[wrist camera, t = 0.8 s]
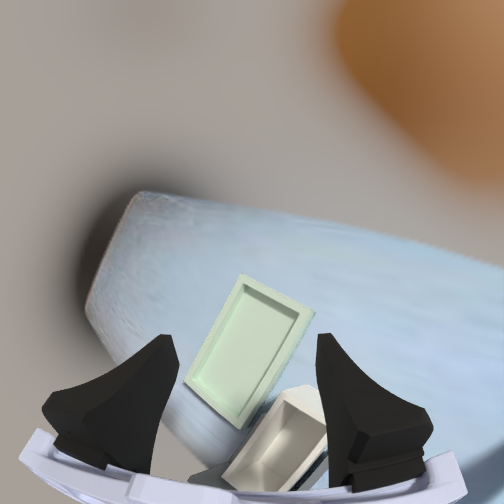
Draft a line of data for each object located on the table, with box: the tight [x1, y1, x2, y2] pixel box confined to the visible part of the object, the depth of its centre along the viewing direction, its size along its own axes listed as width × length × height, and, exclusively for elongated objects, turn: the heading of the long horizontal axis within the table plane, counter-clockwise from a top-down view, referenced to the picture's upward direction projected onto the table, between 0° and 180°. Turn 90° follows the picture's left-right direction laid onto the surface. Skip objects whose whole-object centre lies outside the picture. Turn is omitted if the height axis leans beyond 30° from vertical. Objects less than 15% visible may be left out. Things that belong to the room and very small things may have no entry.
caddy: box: [221, 384, 328, 492], centre depth 18 cm, size 10×5×6 cm, turn 147°
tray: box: [183, 273, 316, 430], centre depth 26 cm, size 14×9×2 cm, turn 147°
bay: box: [188, 412, 329, 491], centre depth 17 cm, size 7×8×8 cm
